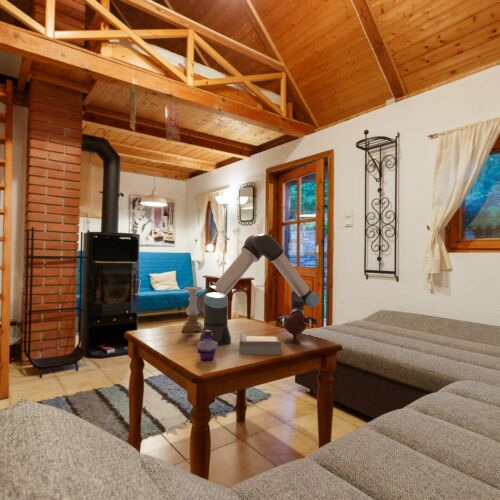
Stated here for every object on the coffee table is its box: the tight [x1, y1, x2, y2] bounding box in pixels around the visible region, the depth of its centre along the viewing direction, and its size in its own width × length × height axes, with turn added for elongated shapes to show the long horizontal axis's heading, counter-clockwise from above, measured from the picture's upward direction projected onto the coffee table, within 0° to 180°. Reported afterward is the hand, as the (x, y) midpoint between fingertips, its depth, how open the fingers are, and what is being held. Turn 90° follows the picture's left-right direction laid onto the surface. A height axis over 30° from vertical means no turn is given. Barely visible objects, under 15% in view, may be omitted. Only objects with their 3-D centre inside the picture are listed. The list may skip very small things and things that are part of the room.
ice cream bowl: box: [283, 313, 308, 345], centre depth 170 cm, size 11×11×15 cm
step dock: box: [238, 331, 282, 356], centre depth 159 cm, size 18×18×6 cm
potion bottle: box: [196, 330, 218, 362], centre depth 142 cm, size 9×9×12 cm
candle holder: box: [181, 286, 203, 333], centre depth 195 cm, size 11×11×24 cm
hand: (296, 323), depth 173 cm, fingers open, 13 cm apart
